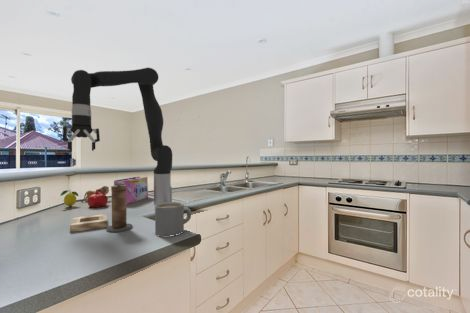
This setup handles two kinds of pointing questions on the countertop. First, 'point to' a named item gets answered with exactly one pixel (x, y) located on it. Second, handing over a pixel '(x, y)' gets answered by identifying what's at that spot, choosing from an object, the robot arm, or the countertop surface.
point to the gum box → (134, 188)
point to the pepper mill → (118, 206)
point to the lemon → (69, 198)
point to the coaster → (110, 229)
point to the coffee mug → (170, 218)
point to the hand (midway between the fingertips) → (82, 150)
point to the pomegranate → (97, 199)
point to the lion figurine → (103, 189)
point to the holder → (88, 222)
